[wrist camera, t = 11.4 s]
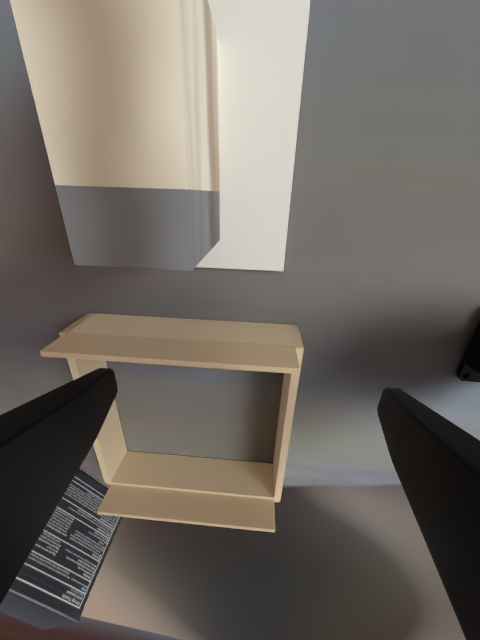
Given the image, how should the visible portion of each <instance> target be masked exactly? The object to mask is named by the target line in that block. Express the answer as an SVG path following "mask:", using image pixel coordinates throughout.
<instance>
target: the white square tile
mask: <svg viewBox="0 0 480 640" xmlns="http://www.w3.org/2000/svg"><path fill="white" fill-rule="evenodd" d="M208 3H209V7H210V11H211V14H212V18H213V21H214V25H215V28H216V32H217V35H218V39H219V134H220V241H219V242H218V243H217V244H216V245H215V246H214V247H213V248H212V249H211V250H210V251H209V253H208V254H207V255H206V256H205V257H204V258H203V259H202V260H201V261H200V262H199V263H198V265H197V266H196V267H204V268H225V269H246V270H268V271H283V268H284V258H285V248H286V238H287V228H288V218H289V208H290V198H291V188H292V179H293V169H294V159H295V149H296V139H297V129H298V119H299V109H300V99H301V89H302V79H303V69H304V59H305V49H306V39H307V29H308V19H309V9H310V0H208Z"/></svg>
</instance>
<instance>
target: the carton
mask: <svg viewBox="0 0 480 640" xmlns="http://www.w3.org/2000/svg"><path fill="white" fill-rule="evenodd" d="M59 335H60V337H59V338H58V339H56V340H55V341H53V342H52V343H51V344H49V345H48V346H46V347H45V348H44V349H42V350H41V351H40V353H41V356H42V357H56V358H67V361H68V364H69V367H70V371H71V374H72V377H73V380H75V379H77V378H79V377H81V376H84V375H86V374H88V373H90V372H92V371H94V370H96V369H98V368H108V367H107V362H106V361H114V362H129V363H144V364H158V365H173V366H187V367H202V368H217V369H231V370H246V371H261V372H275V373H284V377H283V386H282V394H281V402H280V410H279V418H278V426H277V434H276V443H275V451H274V459H273V464H271V463H259V462H248V461H236V460H225V459H213V458H202V457H191V456H179V455H168V454H156V453H145V452H134V451H127V449H126V445H125V440H124V436H123V432H122V427H121V423H120V419H119V414H118V410H117V406H116V401H115V399H114V401H113V404H112V406H111V408H110V410H109V412H108V415H107V417H106V419H105V421H104V424H103V426H102V428H101V430H100V432H99V434H98V436H97V438H96V440H95V442H94V444H93V446H94V449H95V452H96V455H97V459H98V462H99V465H100V468H101V472H102V475H103V478H104V482H105V485H106V486H110V487H109V489H108V491H107V493H106V495H105V497H104V499H103V500H102V502H101V504H100V506H99V508H98V510H97V514H100V515H110V516H120V517H130V518H139V519H149V520H159V521H169V522H180V523H188V524H198V525H208V526H218V527H227V528H238V529H248V530H258V531H267V532H275V512H274V502H280V499H281V492H282V486H283V480H284V474H285V467H286V461H287V454H288V448H289V441H290V435H291V428H292V422H293V415H294V409H295V403H296V396H297V390H298V383H299V377H300V370H301V364H302V357H303V351H304V347H303V343H302V339H301V336H300V332H299V328H298V325H289V324H272V323H254V322H237V321H220V320H202V319H185V318H168V317H151V316H133V315H116V314H99V313H87V314H86V315H84V316H83V317H81V318H80V319H79V320H77V321H76V322H74V323H73V324H71V325H70V326H68V327H67V328H65V329H64V330H62V331H61V332H59Z"/></svg>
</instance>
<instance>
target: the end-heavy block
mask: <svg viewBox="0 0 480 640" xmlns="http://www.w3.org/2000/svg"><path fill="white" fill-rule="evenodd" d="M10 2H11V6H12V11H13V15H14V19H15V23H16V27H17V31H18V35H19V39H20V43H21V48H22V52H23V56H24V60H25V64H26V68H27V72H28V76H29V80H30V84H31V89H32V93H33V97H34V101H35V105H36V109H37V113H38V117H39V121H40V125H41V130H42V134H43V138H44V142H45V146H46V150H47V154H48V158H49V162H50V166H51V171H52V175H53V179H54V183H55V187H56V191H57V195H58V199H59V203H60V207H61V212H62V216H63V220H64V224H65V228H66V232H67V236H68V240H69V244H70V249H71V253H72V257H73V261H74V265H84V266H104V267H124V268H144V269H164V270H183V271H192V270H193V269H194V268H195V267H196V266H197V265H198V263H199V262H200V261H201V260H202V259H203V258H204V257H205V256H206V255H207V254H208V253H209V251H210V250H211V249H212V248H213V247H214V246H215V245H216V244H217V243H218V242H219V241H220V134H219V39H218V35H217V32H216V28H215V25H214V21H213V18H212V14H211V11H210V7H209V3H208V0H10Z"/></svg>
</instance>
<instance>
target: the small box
mask: <svg viewBox="0 0 480 640" xmlns="http://www.w3.org/2000/svg"><path fill="white" fill-rule="evenodd" d="M107 491H108V489H107V488H106V487H104V486H103V485H101V484H100V483H98V482H97V481H95V480H94V479H92V478H91V477H89V476H88V475H86V474H85V473H83V472H82V471H80V470H78V471H77V473H76V475H75V477H74V478H73V480H72V482H71V483H70V485H69V487H68V489H67V490H66V492H65V494H64V496H63V497H62V499H61V501H60V503H59V504H58V506H57V508H56V510H55V511H54V513H53V515H52V516H51V518H50V520H49V522H48V523H47V525H46V527H45V529H44V530H43V532H42V534H41V536H40V537H39V539H38V541H37V543H36V544H35V546H34V548H33V549H32V551H31V553H30V555H29V556H28V558H27V560H26V562H25V563H24V565H23V567H22V569H21V570H20V572H19V574H18V576H17V577H16V579H15V581H14V582H13V584H12V586H11V588H10V589H9V591H8V593H7V595H6V596H5V598H4V600H3V602H2V603H1V605H0V612H2V613H5V614H7V615H9V616H12V617H14V618H16V619H18V620H21V621H23V622H25V623H28V624H30V625H32V626H35V627H37V628H39V629H42V630H48V629H52V628H57V627H61V626H66V625H71V624H76V623H78V621H79V619H80V616H81V614H82V611H83V609H84V605H85V603H86V601H87V599H88V596H89V593H90V591H91V589H92V586H93V584H94V582H95V580H96V577H97V575H98V573H99V570H100V568H101V566H102V564H103V561H104V559H105V556H106V554H107V552H108V550H109V547H110V545H111V543H112V540H113V538H114V535H115V533H116V531H117V529H118V527H119V524H120V522H121V519H122V517H120V516H110V515H100V514H97V510H98V508H99V506H100V504H101V502H102V500H103V499H104V497H105V495H106V493H107Z"/></svg>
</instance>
